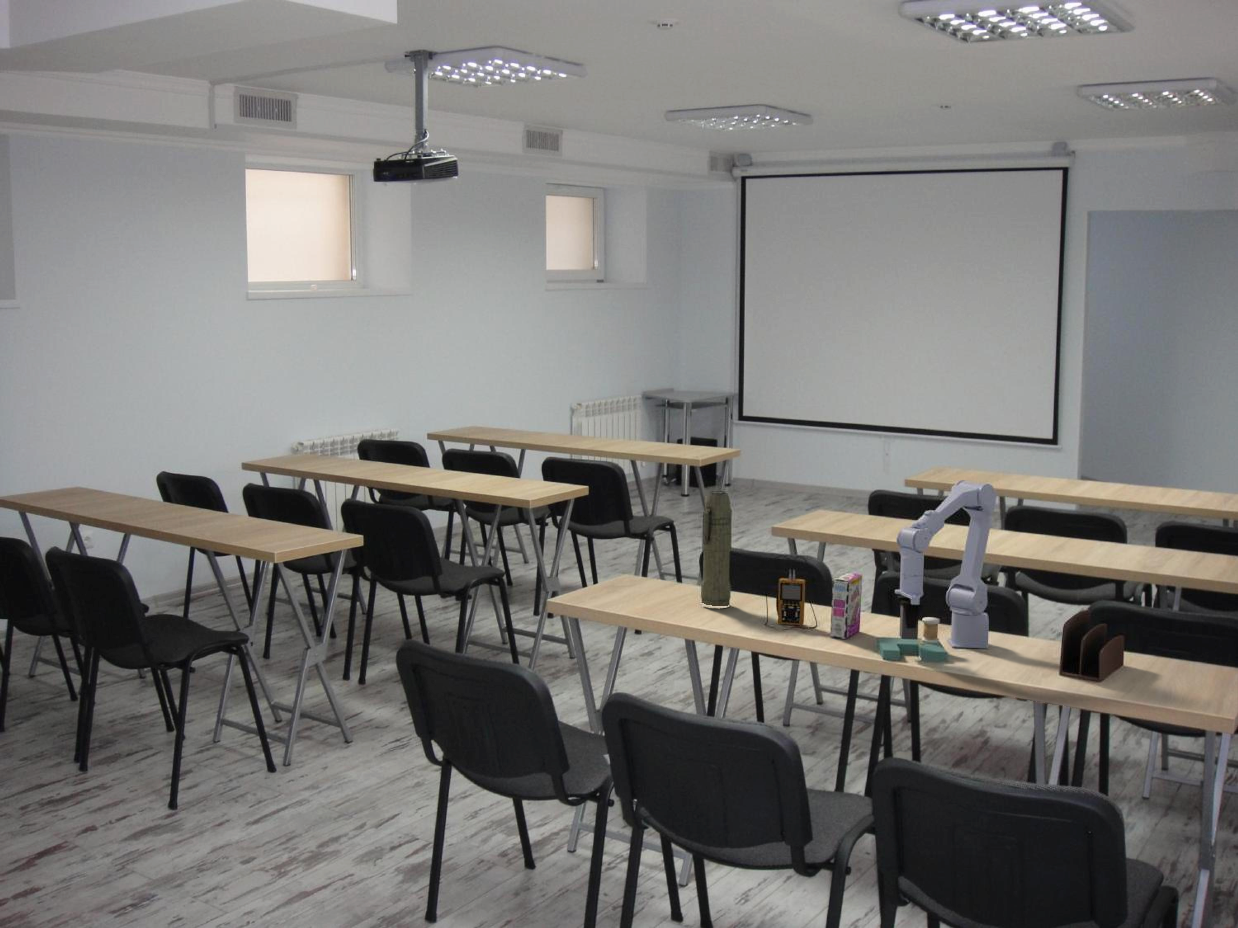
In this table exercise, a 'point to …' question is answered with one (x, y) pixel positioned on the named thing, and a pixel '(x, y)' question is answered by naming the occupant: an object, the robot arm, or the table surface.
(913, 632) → the terminal peg
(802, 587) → the multimeter
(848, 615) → the candy bar box
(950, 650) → the table surface
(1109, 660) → the letter holder
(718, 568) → the thermos
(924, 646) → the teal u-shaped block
